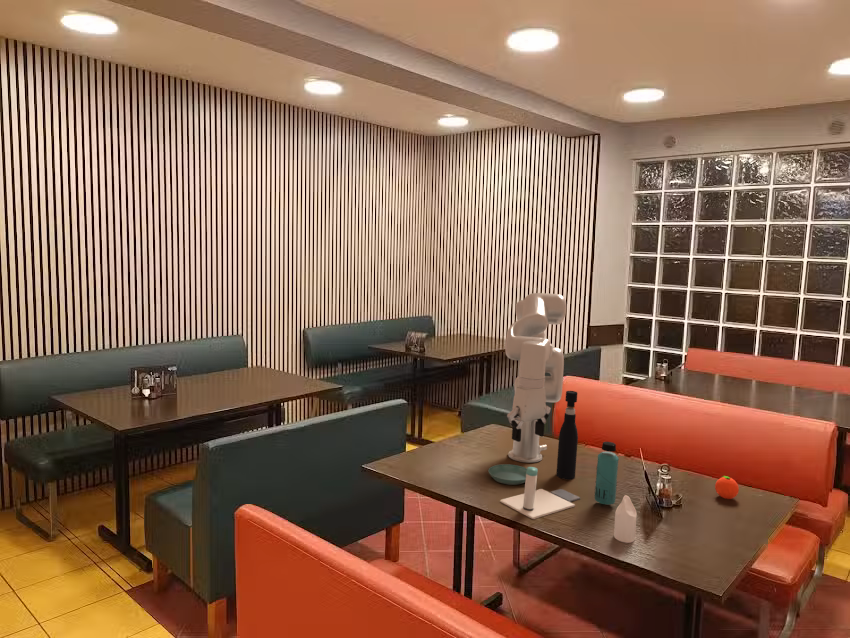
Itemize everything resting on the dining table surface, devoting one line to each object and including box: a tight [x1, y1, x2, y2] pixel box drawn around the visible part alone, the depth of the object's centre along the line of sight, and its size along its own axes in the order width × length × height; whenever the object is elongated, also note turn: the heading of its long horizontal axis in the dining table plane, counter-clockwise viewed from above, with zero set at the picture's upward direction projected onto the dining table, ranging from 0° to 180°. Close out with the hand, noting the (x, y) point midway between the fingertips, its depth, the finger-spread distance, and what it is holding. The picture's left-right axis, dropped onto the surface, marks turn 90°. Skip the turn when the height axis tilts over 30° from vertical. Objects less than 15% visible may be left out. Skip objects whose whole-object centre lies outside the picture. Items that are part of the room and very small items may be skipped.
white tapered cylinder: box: [613, 494, 638, 544], centre depth 166 cm, size 6×12×6 cm
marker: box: [523, 466, 539, 511], centre depth 181 cm, size 3×3×12 cm
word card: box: [550, 488, 581, 503], centre depth 194 cm, size 5×8×1 cm, turn 35°
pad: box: [499, 488, 576, 520], centre depth 187 cm, size 18×14×1 cm
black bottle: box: [556, 390, 579, 481], centre depth 210 cm, size 6×6×30 cm
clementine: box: [714, 475, 740, 500], centre depth 198 cm, size 8×7×7 cm
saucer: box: [488, 463, 527, 486], centre depth 207 cm, size 15×15×3 cm
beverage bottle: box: [593, 441, 620, 506], centre depth 187 cm, size 6×7×20 cm
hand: (527, 437), depth 183 cm, fingers open, 9 cm apart
